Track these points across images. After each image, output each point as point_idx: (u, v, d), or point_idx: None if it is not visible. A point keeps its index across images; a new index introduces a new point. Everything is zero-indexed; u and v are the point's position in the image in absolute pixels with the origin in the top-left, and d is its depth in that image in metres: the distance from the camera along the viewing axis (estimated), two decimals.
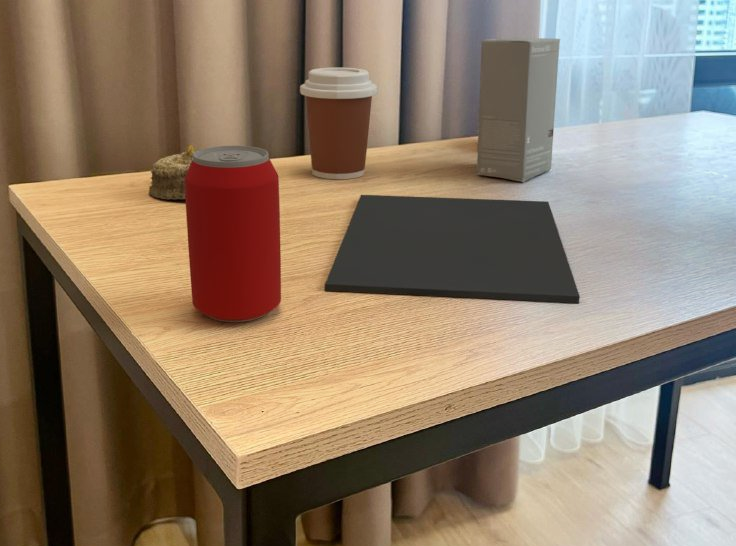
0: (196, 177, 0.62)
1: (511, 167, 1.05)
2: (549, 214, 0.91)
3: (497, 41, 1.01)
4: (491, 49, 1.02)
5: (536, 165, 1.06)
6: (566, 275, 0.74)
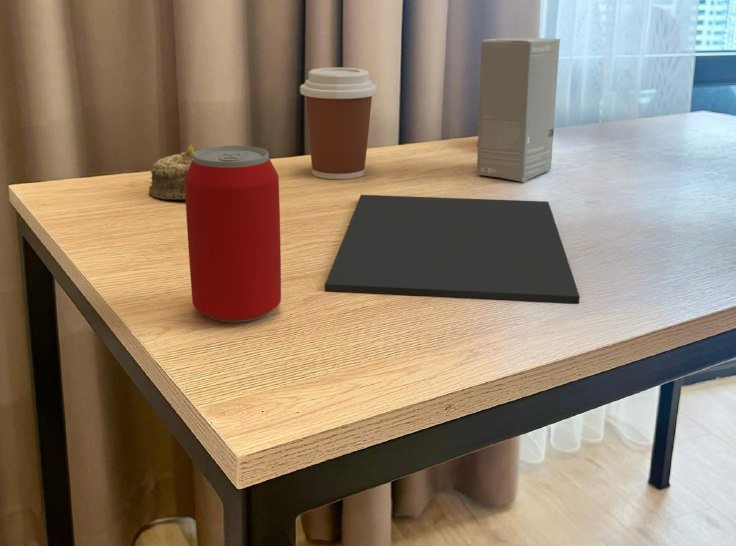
0: (196, 177, 0.62)
1: (511, 167, 1.05)
2: (549, 214, 0.91)
3: (497, 41, 1.01)
4: (491, 48, 1.02)
5: (536, 165, 1.06)
6: (566, 275, 0.74)
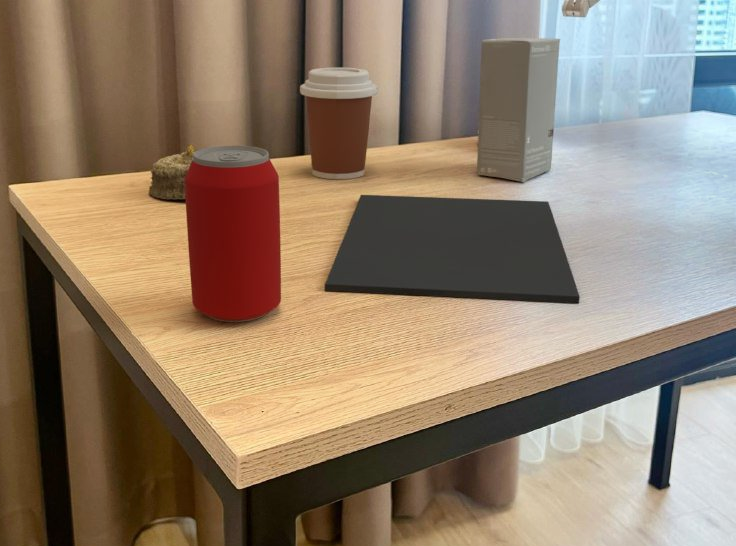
0: (196, 177, 0.62)
1: (511, 167, 1.05)
2: (549, 214, 0.91)
3: (497, 41, 1.01)
4: (491, 48, 1.02)
5: (536, 165, 1.06)
6: (566, 275, 0.74)
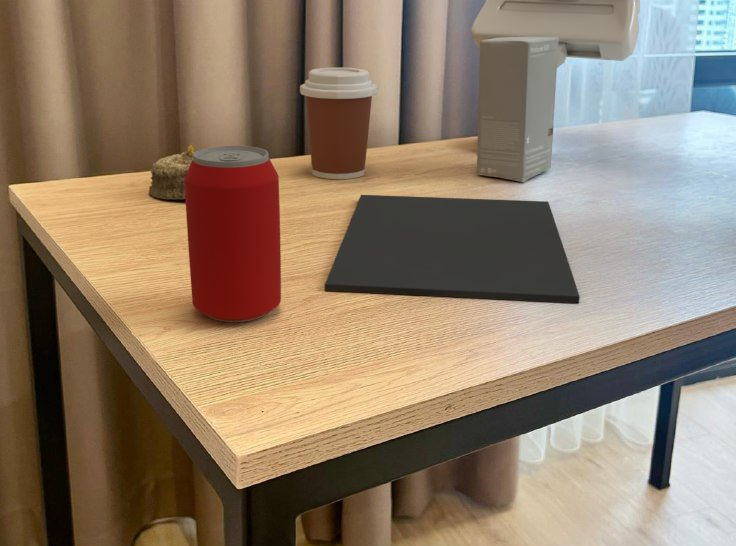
0: (196, 177, 0.62)
1: (511, 167, 1.05)
2: (549, 214, 0.91)
3: (495, 41, 1.01)
4: (490, 49, 1.02)
5: (536, 165, 1.06)
6: (566, 275, 0.74)
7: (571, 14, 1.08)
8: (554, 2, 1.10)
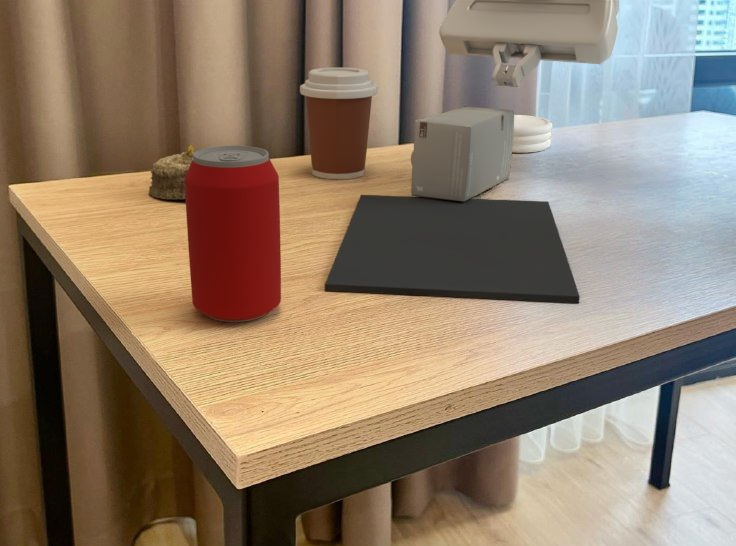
0: (196, 177, 0.62)
1: None
2: (549, 214, 0.91)
3: (428, 197, 0.96)
4: None
5: (509, 151, 1.05)
6: (566, 275, 0.74)
7: (545, 14, 1.01)
8: (527, 1, 1.03)
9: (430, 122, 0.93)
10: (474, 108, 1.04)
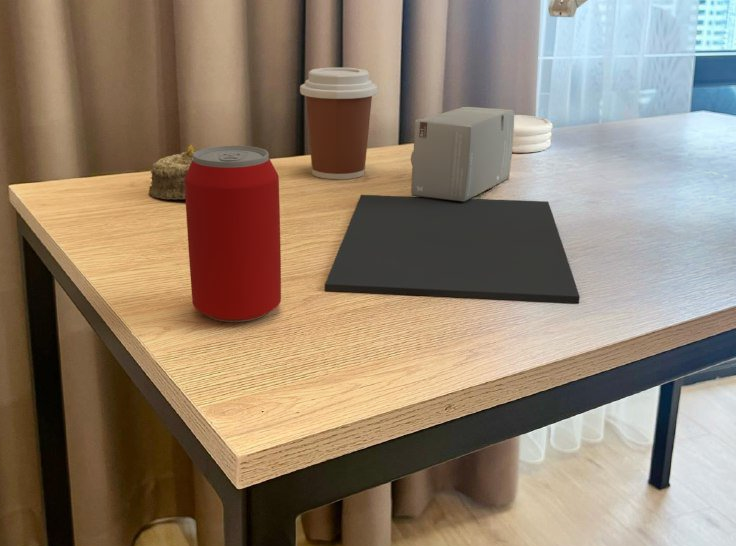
0: (196, 177, 0.62)
1: None
2: (549, 214, 0.91)
3: (428, 197, 0.96)
4: None
5: (509, 151, 1.05)
6: (566, 275, 0.74)
7: None
8: None
9: (430, 122, 0.93)
10: (474, 108, 1.04)
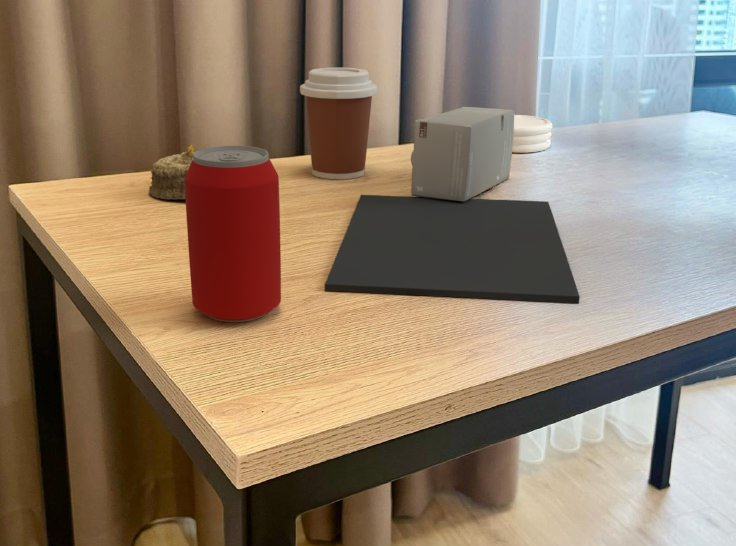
0: (196, 177, 0.62)
1: None
2: (549, 214, 0.91)
3: (428, 197, 0.96)
4: None
5: (509, 151, 1.05)
6: (566, 275, 0.74)
7: None
8: None
9: (430, 122, 0.93)
10: (474, 108, 1.04)
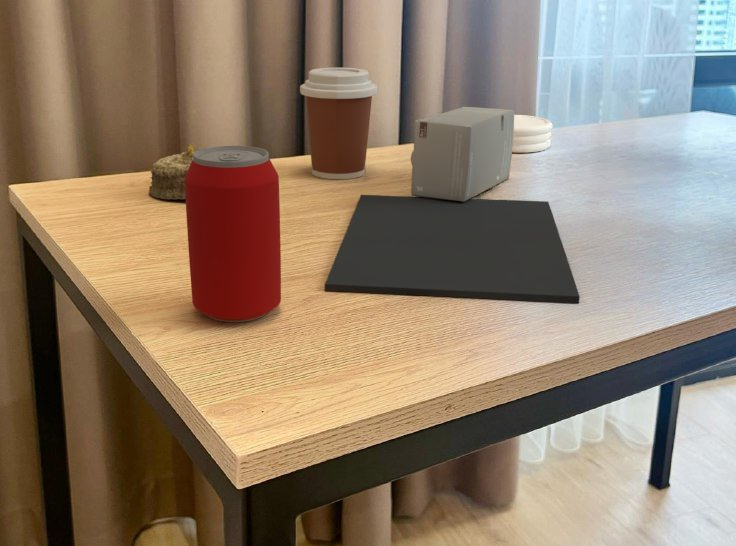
0: (196, 177, 0.62)
1: None
2: (549, 214, 0.91)
3: (428, 197, 0.96)
4: None
5: (509, 151, 1.05)
6: (566, 275, 0.74)
7: None
8: None
9: (430, 122, 0.93)
10: (474, 108, 1.04)
